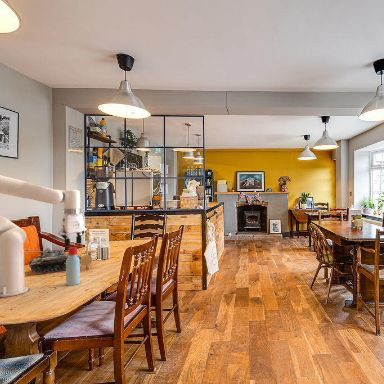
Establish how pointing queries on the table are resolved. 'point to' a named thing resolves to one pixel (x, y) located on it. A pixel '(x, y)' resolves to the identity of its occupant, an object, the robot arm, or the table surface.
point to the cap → (72, 250)
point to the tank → (49, 261)
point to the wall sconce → (87, 254)
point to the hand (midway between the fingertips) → (73, 244)
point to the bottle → (72, 270)
